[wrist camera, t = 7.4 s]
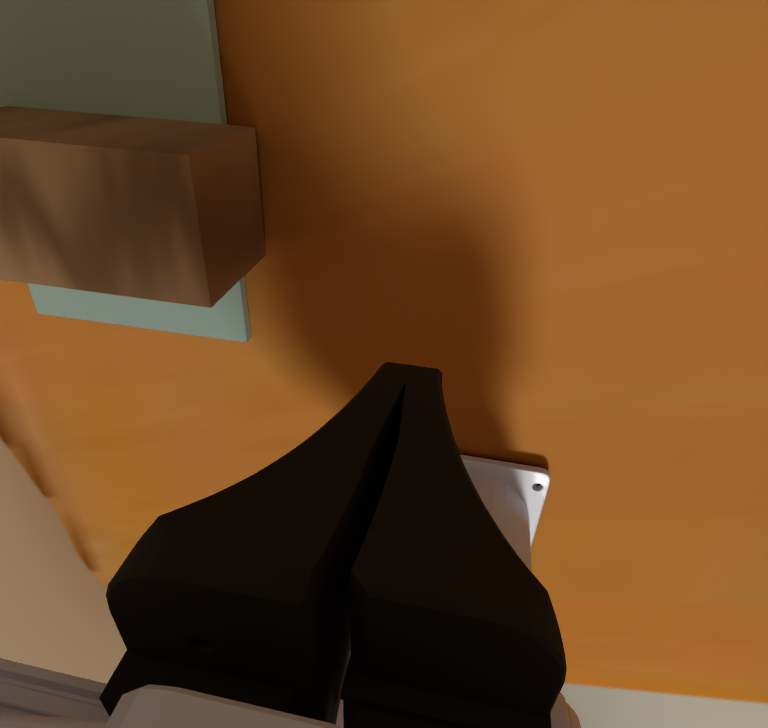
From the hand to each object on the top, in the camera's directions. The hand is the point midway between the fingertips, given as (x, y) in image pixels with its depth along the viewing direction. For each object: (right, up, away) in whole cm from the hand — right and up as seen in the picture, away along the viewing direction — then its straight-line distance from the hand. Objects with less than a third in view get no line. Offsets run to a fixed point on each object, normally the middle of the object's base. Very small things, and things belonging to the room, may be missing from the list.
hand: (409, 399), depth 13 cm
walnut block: (-6, +6, +6) cm, 11 cm away
